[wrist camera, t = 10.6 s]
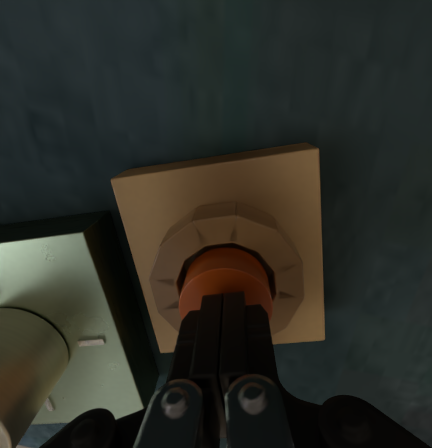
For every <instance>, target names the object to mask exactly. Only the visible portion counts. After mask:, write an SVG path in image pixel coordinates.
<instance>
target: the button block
mask: <svg viewBox="0 0 432 448" xmlns="http://www.w3.org/2000/svg"><path fill="white" fill-rule="evenodd" d="M111 184H112V187H113V191H114V194H115V198H116V201H117V204H118V208H119V211H120V215H121V218H122V222H123V225H124V229H125V232H126V236H127V239H128V242H129V246H130V249H131V253H132V256H133V260H134V263H135V267H136V270H137V274H138V277H139V280H140V284H141V287H142V291H143V294H144V298H145V301H146V305H147V308H148V312H149V315H150V318H151V322H152V325H153V329H154V332H155V336H156V339H157V343H158V346H159V350H160V352H161V353H169V352H174V349H175V345H176V341H177V337H178V335H179V329H180V325H181V321H182V319H181V316H180V313H179V298H180V294H181V291H182V287H183V284H184V280H185V277H186V274H187V271H188V268H189V266H190V265H191V264H192V262H193V261H194V260H195V259H196V258H197V257H198V256H200V255H201V254H203V253H204V252H207V251H209V250H212V249H215V248H223V247H229V248H236V249H240V250H243V251H245V252H247V253H249V254H251V255H252V256H254V257H255V258H256V259H257V260H258V261H259V262H260V263H261V264H262V266H263V267H264V269H265V271H266V274H267V277H268V282H269V287H270V292H271V297H272V303H273V313H272V317H271V320H270V322H269V324H270V330H271V337H272V343H273V344H283V343H295V342H308V341H321V340H325V320H324V288H323V256H322V224H321V192H320V160H319V148H317V147H315V146H313V145H311V144H309V143H306V142H305V143H298V144H292V145H285V146H279V147H272V148H265V149H259V150H252V151H246V152H239V153H232V154H226V155H219V156H213V157H206V158H199V159H193V160H186V161H180V162H173V163H166V164H160V165H153V166H147V167H140V168H133V169H127V170H126V171H124V172H122V173H120V174H119V175H117V176H115V177H113V178H112V179H111Z"/></svg>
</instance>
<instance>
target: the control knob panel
mask: <svg viewBox="0 0 432 448" xmlns="http://www.w3.org/2000/svg"><path fill="white" fill-rule="evenodd" d="M0 308H13V309H19V310H23V311H27V312H30V313H32V314H34V315H36V316H38V317H40V318H42V319H44V320H45V321H47V322H48V323H49V324H50V325H52V326H53V327H54V328H55V329H56V330H57V331H58V333H59V334H60V335H61V336H62V338H63V340H64V341H65V343H66V346H67V349H68V354H69V360H68V365H67V368H66V370H65V371H64V373H63V375H62V376H61V378H60V379H59V381H58V382H57V384H56V385H55V387H54V389H53V390H52V392H51V393H50V395H49V396H48V398H47V399H46V401H45V403H44V404H43V406H42V407H41V409H40V410H39V412H38V413H37V415H36V417H35V418H34V420H33V421H32V423H31V424H49V423H68V422H71V421H72V420H73V419H74V418H76V417H77V416H79V415H80V414H82V413H84V412H86V411H88V410H91V409H95V408H104V409H107V410H109V411H110V412H112V414H113V415H114V417H115V419H118V418H121V417H124V416H126V415H129V414H132V413H134V412H137V411H139V410H142V409H144V408H145V407H147V406H148V405H149V403H150V400H151V398H152V396H153V395H154V392H155V388H156V385H157V381H158V377H159V374H158V371H157V367H156V364H155V361H154V357H153V354H152V351H151V347H150V344H149V341H148V337H147V334H146V331H145V328H144V324H143V321H142V318H141V314H140V311H139V308H138V304H137V301H136V298H135V295H134V291H133V288H132V285H131V281H130V278H129V275H128V271H127V268H126V265H125V261H124V258H123V255H122V252H121V248H120V245H119V242H118V238H117V235H116V232H115V228H114V225H113V222H112V218H111V215H110V212H109V211H102V212H94V213H87V214H80V215H72V216H65V217H58V218H50V219H43V220H36V221H28V222H21V223H14V224H6V225H0ZM31 424H30V425H31Z"/></svg>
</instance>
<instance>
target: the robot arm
mask: <svg viewBox="0 0 432 448" xmlns="http://www.w3.org/2000/svg"><path fill="white" fill-rule="evenodd" d="M220 438H227V448H431V447H430V446H428V445H427V444H426V443H424V442H423V441H421V440H420V439H419V438H417V437H416V436H414V435H413V434H412V433H410V432H409V431H407V430H406V429H405V428H403V427H402V426H400V425H399V424H398V423H396V422H395V421H393V420H392V419H391V418H389V417H388V416H386V415H385V414H384V413H382V412H381V411H379V410H378V409H377V408H375V407H374V406H372V405H371V404H369V403H368V402H366V401H364V400H362V399H360V398H357V397H354V396H349V395H338V396H334V397H331V398H329V399H328V400H326V401H325V402H324V403H323V405H318V404H314V403H310V402H306V401H303V400H300V399H298V398H296V397H294V396H293V395H291V394H290V393H289V392H287V391H286V390H285V388H284V387H283V386H282V384H281V383H280V381H279V378H278V374H277V368H276V362H275V355H274V349H273V343H272V337H271V330H270V324H269V318H268V313H267V312H266V310H265V309H264V308H263V307H262V305H261V304H255V305H246V299H245V293H244V291H240V292H230V293H224V295H223V293H220V294H210V295H203V296H202V302H201V307H200V310H192V311H189V312H188V313H187V315H186V316H185V317H184V319H183V320H182V321H181V325H180V329H179V335H178V337H177V341H176V345H175V349H174V353H173V357H172V361H171V365H170V369H169V373H168V377H167V381H166V384H164V385H163V386H161V387H160V388H159V389H158V390H157V391H156V392H155V393H154V395H153V396H152V398H151V400H150V403H149V405H148V406H147V407H145V408H144V409H142V410H139V411H137V412H134V413H132V414H129V415H126V416H124V417H121V418H118V419H115V417H114V415H113V414H112V412H110V411H109V410H107V409H104V408H95V409H91V410H88V411H86V412H84V413H82V414H80V415H79V416H77V417H76V418H74V419H73V420H72V421H71V422H70V423H68V424H67V425H66V426H65V427H63V428H62V429H61V430H60V431H59V432H57V433H56V434H55V435H54V436H53V437H51V438H50V439H49V440H48V441H47V442H45V443H44V444H43V445H42V446H40V447H39V448H219V447H220Z"/></svg>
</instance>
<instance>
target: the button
mask: <svg viewBox="0 0 432 448" xmlns="http://www.w3.org/2000/svg"><path fill="white" fill-rule="evenodd" d="M240 291H244V293H245V299H246V305H255V304H261V305H262V307H263V308H264V309H265V310H266V312H267V313H268V318H269V322H270V320H271V317H272V313H273V303H272V297H271V292H270V287H269V282H268V277H267V274H266V271H265V269H264V267H263V266H262V264H261V263H260V262H259V261H258V260H257V259H256V258H255V257H254V256H252V255H251V254H249V253H247V252H245V251H243V250H240V249H236V248H229V247H223V248H215V249H212V250H209V251H207V252H204V253H203V254H201V255H200V256H198V257H197V258H196V259H195V260H194V261H193V262H192V264H191V265H190V266H189V268H188V271H187V274H186V277H185V280H184V284H183V287H182V291H181V294H180V298H179V313H180V316H181V319H182V320H183V319H184V317H185V316H186V315H187V313H188V312H189V311H192V310H200V307H201V302H202V296H203V295H210V294H220V293H223V295H224V293H230V292H240Z"/></svg>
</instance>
